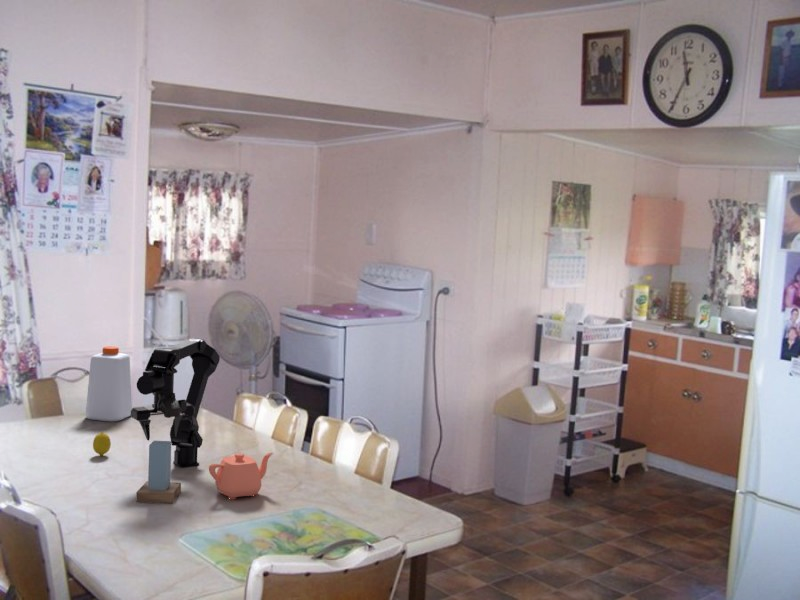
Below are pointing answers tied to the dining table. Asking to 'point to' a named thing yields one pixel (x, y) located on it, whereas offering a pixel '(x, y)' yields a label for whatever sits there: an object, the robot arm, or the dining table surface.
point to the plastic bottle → (109, 386)
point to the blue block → (159, 465)
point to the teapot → (239, 475)
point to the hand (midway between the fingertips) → (162, 438)
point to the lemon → (101, 444)
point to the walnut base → (158, 494)
